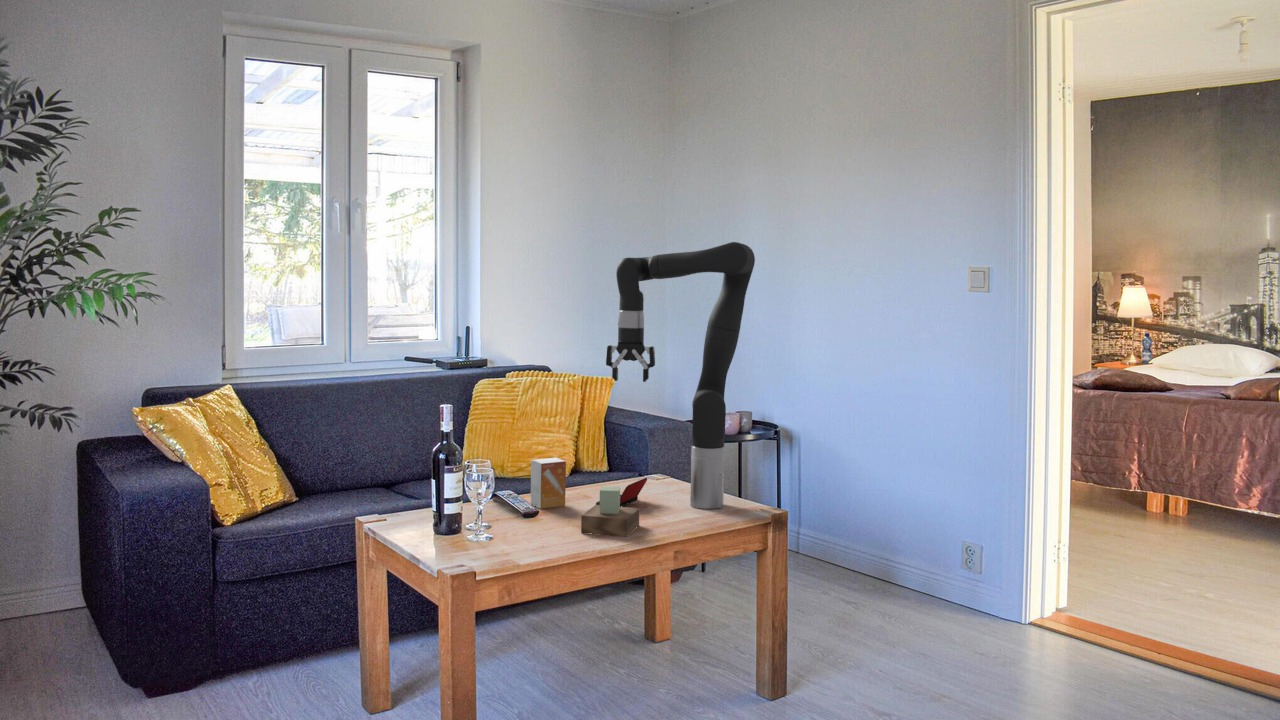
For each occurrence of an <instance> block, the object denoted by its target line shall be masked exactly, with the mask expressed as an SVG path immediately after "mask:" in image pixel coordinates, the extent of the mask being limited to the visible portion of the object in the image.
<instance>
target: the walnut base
mask: <svg viewBox="0 0 1280 720" xmlns="http://www.w3.org/2000/svg"><path fill="white" fill-rule="evenodd" d="M580 519H581V521H580V523H581V524H580V529H581V530H580V533H581V534H584V533H592V534H591V535H595V534H600V535H599V536H606V535H609V537H619V538H627V537H629V536H630V535H631V534H632V533H633V532H634V531H635V530H636V529H637V528H638V527H639V526H640V508H638V507H628V506H627V507H625V506H623V507H620V511H619V514H600V505H596V504H595V505H594V506H592V507H590V508H589V509H588V510H587V511H585V512H584V513H582V514H581V518H580ZM638 525H639V526H638ZM636 527H637V528H636ZM635 528H636V529H635ZM634 529H635V530H634ZM633 530H634V531H633ZM632 531H633V532H632ZM631 532H632V533H631ZM630 533H631V534H630ZM629 534H630V535H629ZM628 535H629V536H628Z"/></svg>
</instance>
